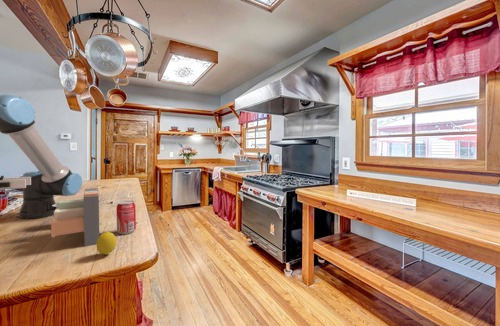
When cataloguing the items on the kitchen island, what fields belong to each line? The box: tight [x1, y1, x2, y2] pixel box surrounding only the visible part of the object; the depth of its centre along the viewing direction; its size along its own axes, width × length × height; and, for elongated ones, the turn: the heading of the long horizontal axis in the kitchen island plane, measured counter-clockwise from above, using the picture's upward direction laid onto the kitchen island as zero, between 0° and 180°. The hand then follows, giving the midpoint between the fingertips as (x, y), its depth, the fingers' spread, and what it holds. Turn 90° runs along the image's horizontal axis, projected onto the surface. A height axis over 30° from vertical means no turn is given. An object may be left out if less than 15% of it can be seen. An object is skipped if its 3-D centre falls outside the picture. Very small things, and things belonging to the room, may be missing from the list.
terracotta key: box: [50, 217, 84, 238], centre depth 82 cm, size 5×13×5 cm, turn 125°
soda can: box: [115, 200, 137, 235], centre depth 96 cm, size 7×7×13 cm
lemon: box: [96, 230, 117, 256], centre depth 75 cm, size 6×6×8 cm
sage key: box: [55, 198, 84, 210], centre depth 93 cm, size 5×13×5 cm, turn 125°
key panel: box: [83, 187, 100, 247], centre depth 91 cm, size 20×4×19 cm, turn 35°
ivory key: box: [53, 207, 84, 220], centre depth 88 cm, size 5×13×5 cm, turn 125°
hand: (28, 182), depth 74 cm, fingers open, 6 cm apart
